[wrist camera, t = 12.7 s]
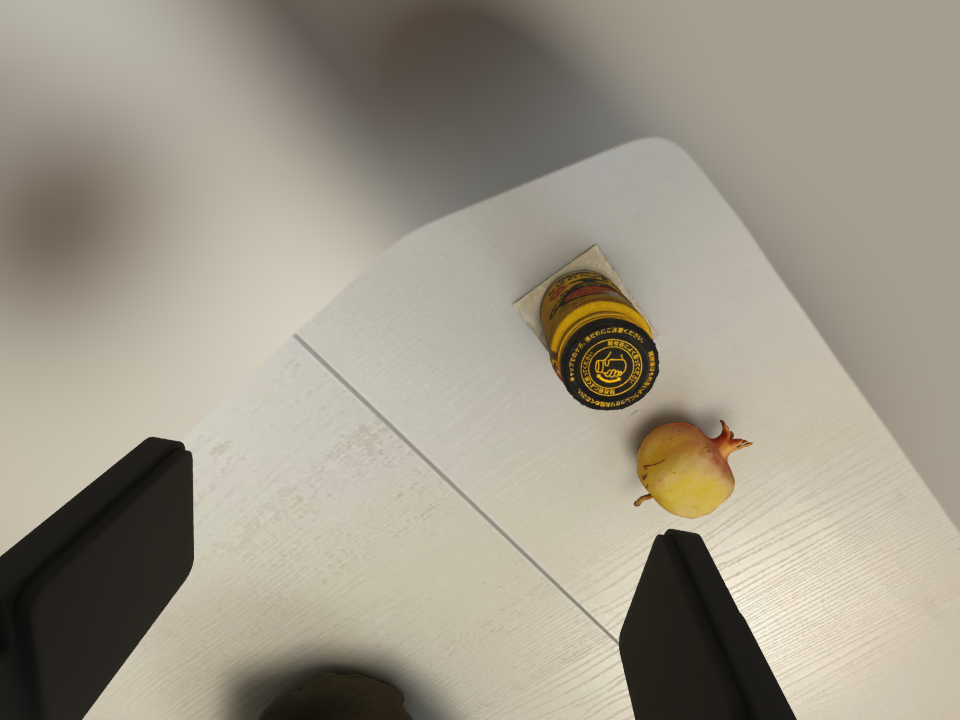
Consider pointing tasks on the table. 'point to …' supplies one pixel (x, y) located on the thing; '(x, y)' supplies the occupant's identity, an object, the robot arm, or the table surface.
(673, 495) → the fruit
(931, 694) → the table surface
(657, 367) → the condiment
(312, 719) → the stone bowl
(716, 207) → the table surface
